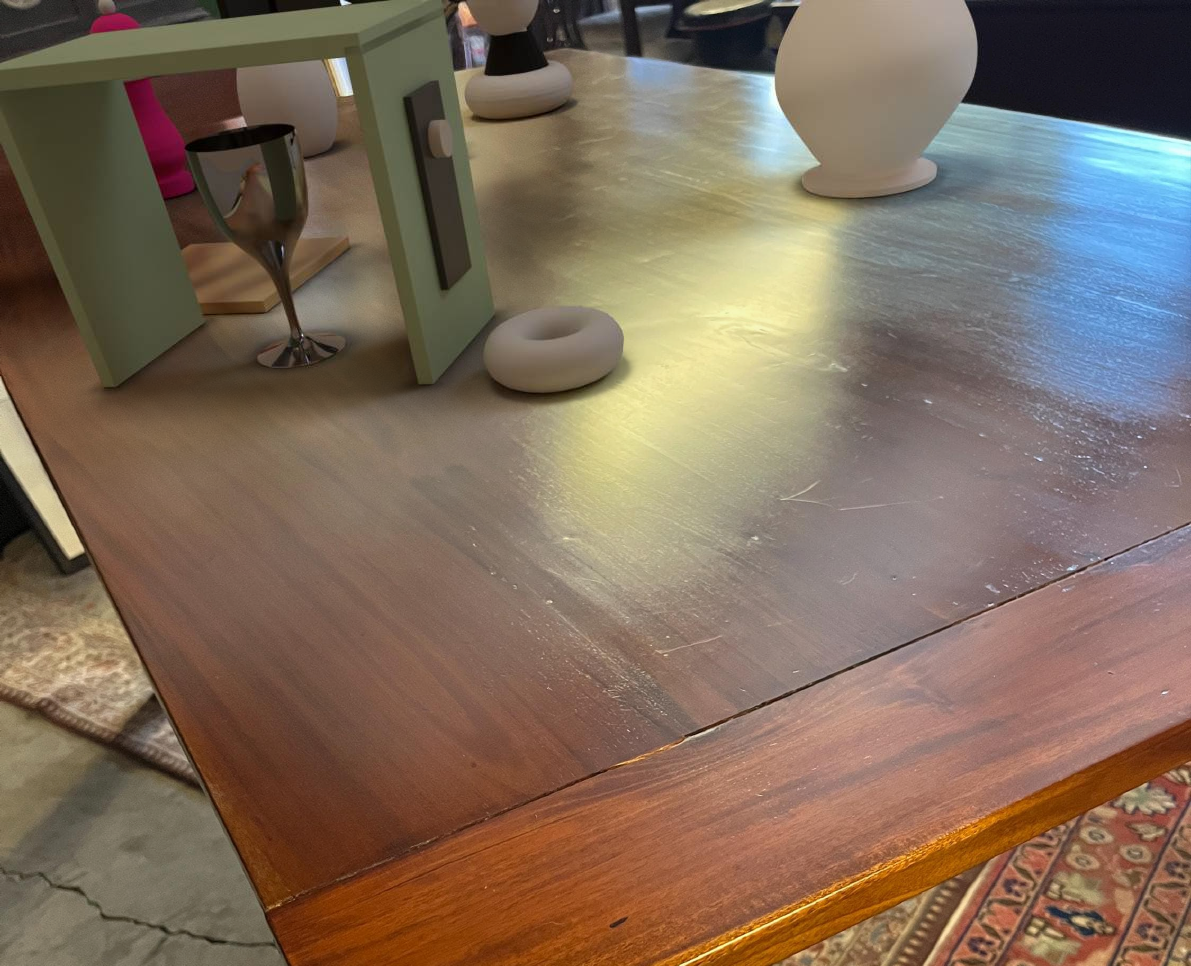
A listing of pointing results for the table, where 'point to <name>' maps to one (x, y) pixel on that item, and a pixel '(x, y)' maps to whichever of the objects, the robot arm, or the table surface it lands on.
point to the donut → (553, 349)
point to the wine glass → (262, 216)
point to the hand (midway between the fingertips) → (303, 11)
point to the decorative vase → (873, 88)
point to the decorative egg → (291, 101)
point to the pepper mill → (150, 116)
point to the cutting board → (251, 273)
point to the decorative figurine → (514, 65)
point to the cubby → (136, 207)
